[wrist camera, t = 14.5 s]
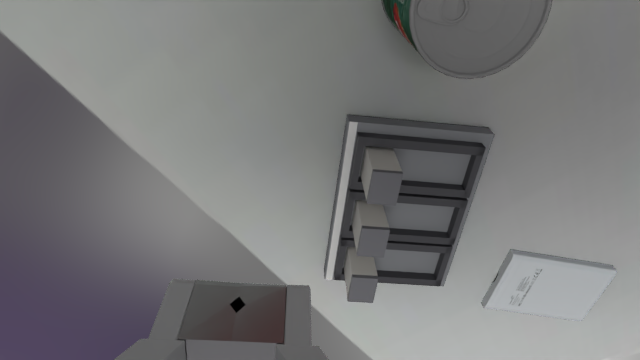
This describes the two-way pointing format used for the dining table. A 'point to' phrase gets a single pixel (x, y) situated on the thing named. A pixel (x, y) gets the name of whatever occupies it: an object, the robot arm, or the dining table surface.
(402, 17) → the canned tomato
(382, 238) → the block
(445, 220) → the panel
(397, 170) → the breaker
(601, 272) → the external hard drive
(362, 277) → the block
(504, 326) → the dining table surface
